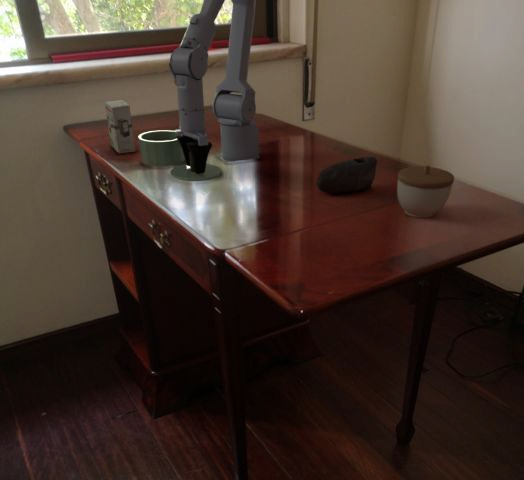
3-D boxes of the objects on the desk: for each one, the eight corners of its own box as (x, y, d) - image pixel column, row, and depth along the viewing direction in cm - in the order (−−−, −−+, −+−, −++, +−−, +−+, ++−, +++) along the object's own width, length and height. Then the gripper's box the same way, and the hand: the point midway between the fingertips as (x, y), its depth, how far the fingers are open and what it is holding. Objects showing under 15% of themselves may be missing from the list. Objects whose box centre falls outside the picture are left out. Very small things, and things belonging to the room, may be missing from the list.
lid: (211, 165, 135) (209, 142, 132) (228, 179, 126) (227, 155, 123) (164, 171, 131) (162, 147, 127) (179, 186, 122) (177, 161, 118)
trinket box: (437, 226, 103) (447, 178, 97) (385, 215, 107) (391, 168, 102) (452, 209, 110) (462, 163, 105) (403, 199, 115) (410, 155, 109)
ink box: (110, 146, 149) (103, 101, 142) (127, 144, 151) (121, 99, 144) (118, 154, 143) (111, 107, 136) (136, 151, 145) (130, 105, 138)
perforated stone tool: (320, 199, 115) (322, 166, 111) (310, 191, 119) (312, 159, 115) (381, 191, 119) (385, 159, 115) (369, 184, 123) (373, 153, 119)
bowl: (178, 153, 143) (176, 128, 140) (191, 165, 135) (189, 138, 131) (137, 158, 139) (133, 133, 136) (148, 170, 131) (144, 143, 127)
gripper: (165, 104, 123) (171, 163, 131) (184, 116, 113) (189, 180, 121) (193, 101, 126) (197, 159, 134) (215, 113, 115) (218, 176, 123)
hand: (195, 169), depth 127 cm, fingers open, 6 cm apart
